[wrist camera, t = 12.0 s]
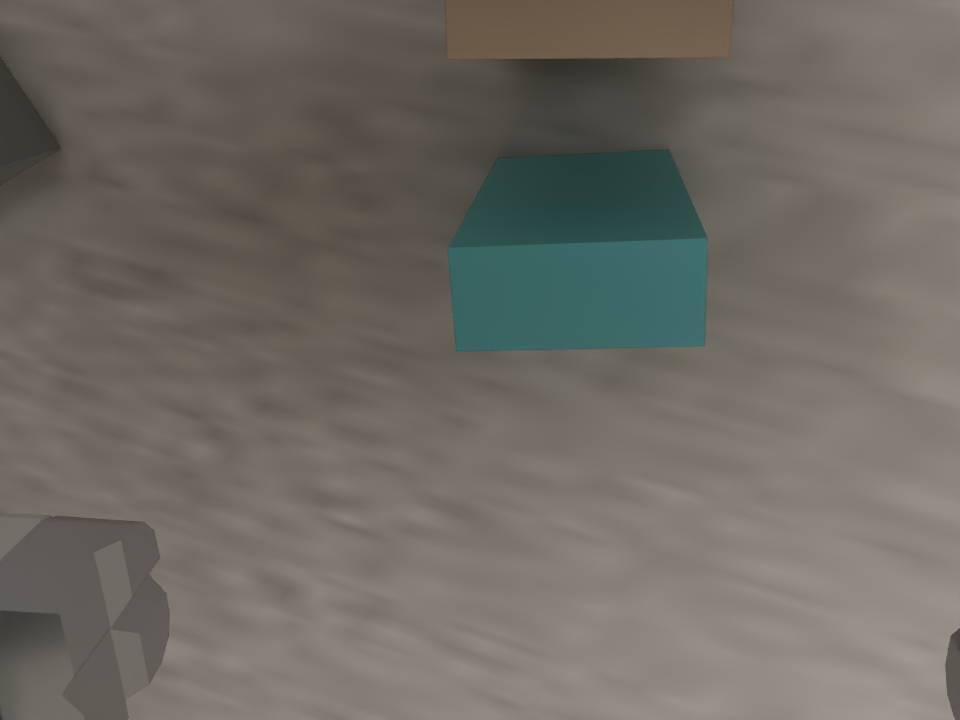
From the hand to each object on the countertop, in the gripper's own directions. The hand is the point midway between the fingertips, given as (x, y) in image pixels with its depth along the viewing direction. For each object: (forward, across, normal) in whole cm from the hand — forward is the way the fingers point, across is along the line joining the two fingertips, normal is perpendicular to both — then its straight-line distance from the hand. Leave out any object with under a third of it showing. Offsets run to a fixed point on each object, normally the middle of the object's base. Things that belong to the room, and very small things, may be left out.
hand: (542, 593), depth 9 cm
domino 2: (+20, 0, 0) cm, 20 cm away
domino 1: (+20, -1, -6) cm, 20 cm away
